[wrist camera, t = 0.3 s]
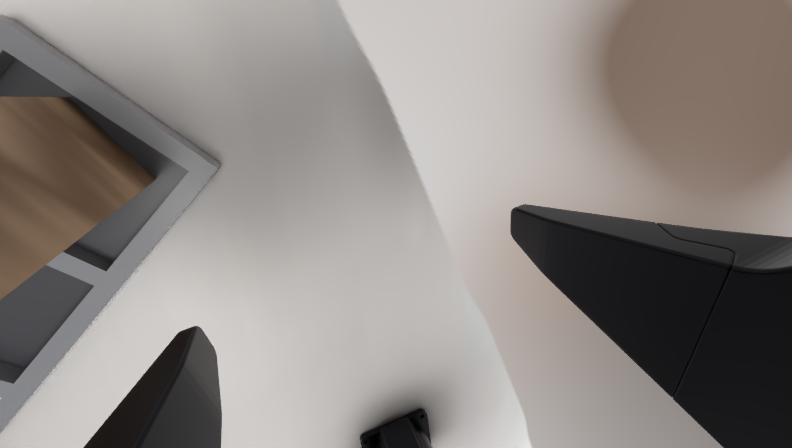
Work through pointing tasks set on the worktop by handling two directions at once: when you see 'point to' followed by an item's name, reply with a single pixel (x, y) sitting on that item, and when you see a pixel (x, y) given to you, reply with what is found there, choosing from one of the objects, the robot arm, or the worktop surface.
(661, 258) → the robot arm
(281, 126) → the worktop surface
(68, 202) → the walnut block
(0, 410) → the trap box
